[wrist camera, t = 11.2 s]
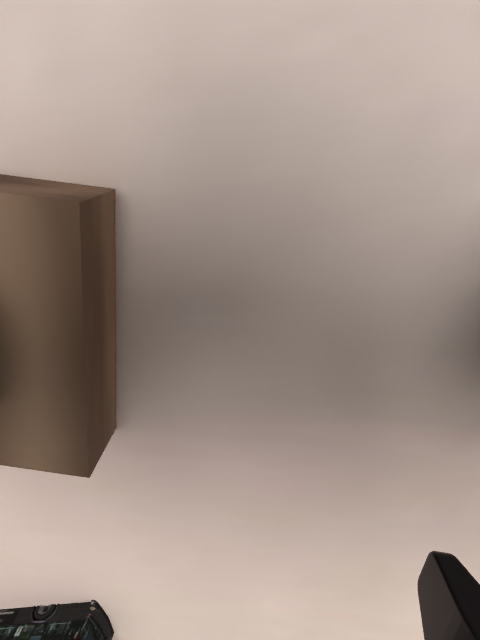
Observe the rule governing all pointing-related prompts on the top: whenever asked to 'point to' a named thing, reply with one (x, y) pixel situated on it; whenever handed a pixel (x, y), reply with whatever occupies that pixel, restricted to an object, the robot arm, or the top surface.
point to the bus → (56, 622)
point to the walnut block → (56, 324)
